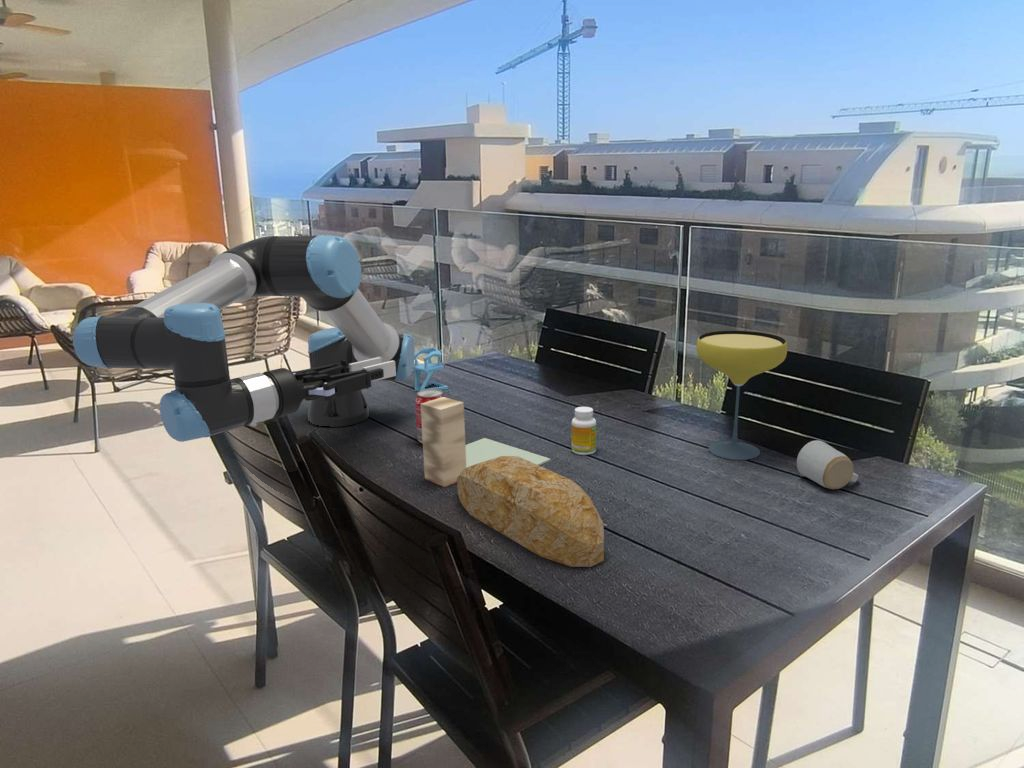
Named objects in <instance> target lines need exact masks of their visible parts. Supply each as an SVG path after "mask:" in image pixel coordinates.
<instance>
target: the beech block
mask: <svg viewBox="0 0 1024 768" xmlns="http://www.w3.org/2000/svg"><path fill="white" fill-rule="evenodd" d="M421 421H422V438H423V444H422V450H423V451H422V452H423V468H424V472H423V473H424V479H425V480H427V481H428V482H431V483H434V484H436V485H438V486H441V487H444V488H445V487H448V486H450V485H453V484H455V483H457V477H458V476H459V475H460V474H461V472H462V471H463V470H464V469H466V446H465V445H466V430H465V429H466V428H465V427H466V425H465V423H466V422H465V403H464V401H459V400H456V399H453V398H449V397H445V396H444V397H441V398H438V399H435V400H431V401H428V402H425V403H422V404H421Z"/></svg>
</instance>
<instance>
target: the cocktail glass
mask: <svg viewBox="0 0 1024 768" xmlns="http://www.w3.org/2000/svg"><path fill="white" fill-rule="evenodd" d="M696 353H697V356H698V358H699V359H700V360H701V361H702V362H703V363H704V364H706V365H707V366H709V368H710V367H711V368H712V369H714V370H715V371H718V372H720V373H722V374H724V375H725V376H726V377H728V378H729V379H730V381H731V383H732V384H733V386H735V387H736V394H735V395H736V396H735V408H734V410H735V411H734V421H733V431H732V436H731V440H729V441H728V440H724V441H717V442H716V441H715V442H713V443H710V444H709V445H708V451H710V452H711V453H710V452H709V453H710V454H712V455H713V454H714V455H713V456H715V455H716V457H717V456H719V457H718V458H720V457H721V458H720V459H724V458H725V460H730V461H731V460H732V461H748V459H750V460H753V458H754V459H755V458H758V457H759V456H760V454H761V451H760V448H758V447H756V446H755V445H752V444H750V443H745V442H740V441H739V438H738V421H739V406H740V405H739V404H740V403H739V402H740V393H741V392H740V390H741V387H742V386H744V385H745V384H746V383H747V382H748V381H749V380H750V379H751V378H753V377H755V376H757V375H760V374H762V373H766V372H769V371H770V370H773V369H774V368H777V367H778V366H780V365H781V364H782V363H784V361H785V360H786V358H787V354H788V341H787V339H785V338H783V337H782V336H779V335H776V334H772V333H768V332H767V333H766V332H761V331H752V330H751V331H750V330H718V331H711V332H705V333H703V334H700V335H699V336H698V338H697V340H696ZM757 456H758V457H757Z"/></svg>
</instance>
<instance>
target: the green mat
mask: <svg viewBox="0 0 1024 768" xmlns="http://www.w3.org/2000/svg"><path fill="white" fill-rule="evenodd" d="M465 446H466V468H467V467H470V466H473V465H475V464H478V463H481V462H484V461H488V460H491V459H494V458H497V457H500V456H519V457H521V458H523V459H525V460H528V461H530V462H532V463H534V464H537V465H539V466H542V465H544V464H546V463H549V462H550V461H551V458H549V457H547V456H543V455H540V454H536V453H534V452H530V451H528V450H524V449H520V448H518V447H515V446H511V445H508V444H506V443H502V442H499V441H496V440H492V439H489V438H486V437H483V438H481V439H478V440H475V441H473V442H470V443H467V444H465Z"/></svg>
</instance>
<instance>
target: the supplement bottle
mask: <svg viewBox="0 0 1024 768" xmlns="http://www.w3.org/2000/svg"><path fill="white" fill-rule="evenodd" d="M596 451H597V420H596V419H595V418H594V409H593V408H592V407H590V406H578V407H575V408H574V417H573V418H572V420H571V452H572V453H573V454H576V455H579V456H580V455H581V456H588V455H594V453H596Z"/></svg>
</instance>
